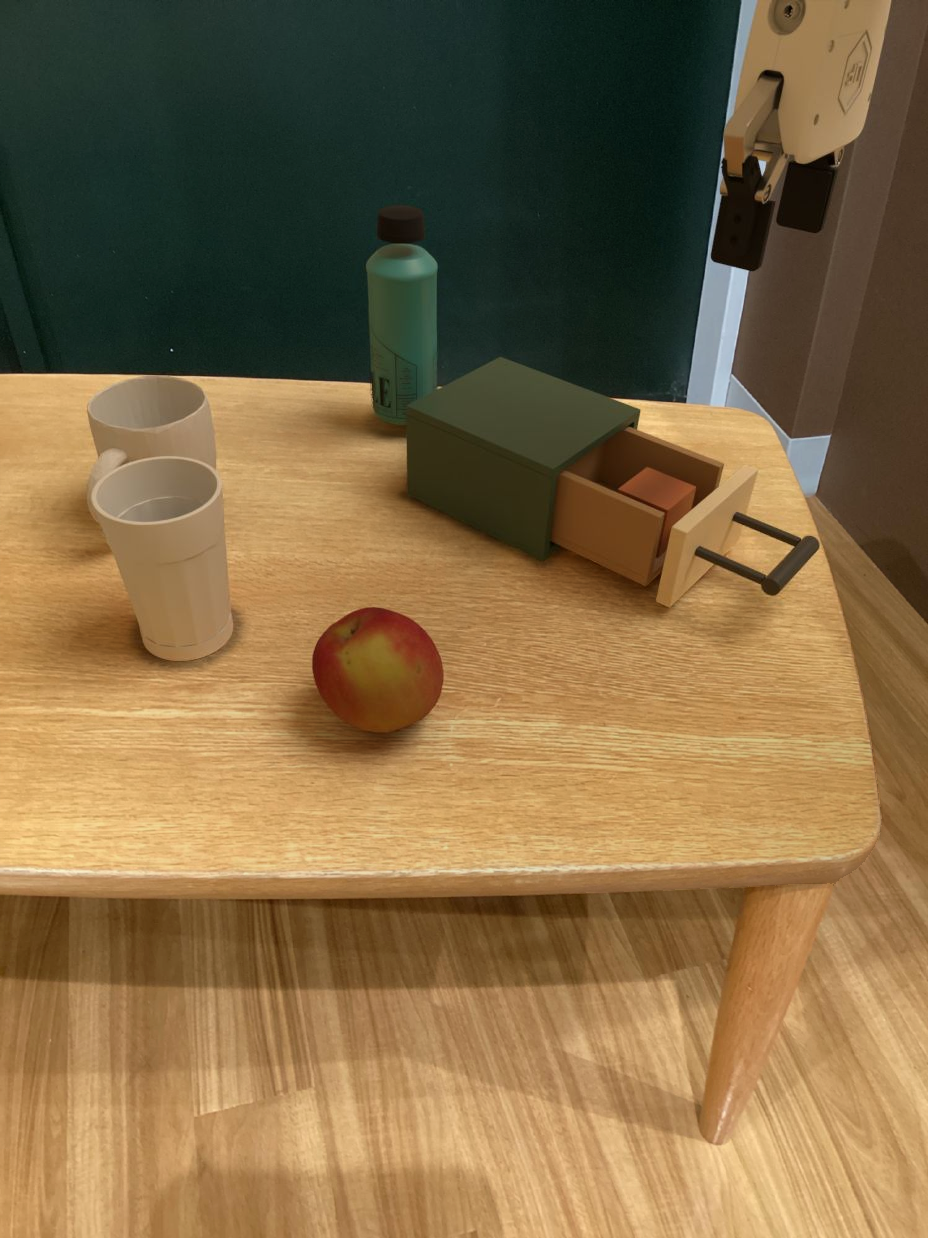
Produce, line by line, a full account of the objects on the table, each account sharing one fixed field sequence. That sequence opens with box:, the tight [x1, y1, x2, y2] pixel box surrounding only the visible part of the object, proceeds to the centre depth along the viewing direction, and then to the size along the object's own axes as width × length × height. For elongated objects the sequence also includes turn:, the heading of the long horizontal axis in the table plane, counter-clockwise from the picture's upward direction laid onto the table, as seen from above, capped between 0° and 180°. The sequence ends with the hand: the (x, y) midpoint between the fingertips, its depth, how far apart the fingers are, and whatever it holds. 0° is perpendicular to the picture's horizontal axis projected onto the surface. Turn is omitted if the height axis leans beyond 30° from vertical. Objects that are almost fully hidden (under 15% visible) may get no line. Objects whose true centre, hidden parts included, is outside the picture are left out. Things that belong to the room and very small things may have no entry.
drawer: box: [550, 426, 821, 608], centre depth 71 cm, size 20×11×7 cm, turn 51°
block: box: [617, 467, 696, 557], centre depth 72 cm, size 4×4×4 cm
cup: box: [91, 456, 234, 662], centre depth 62 cm, size 8×8×12 cm
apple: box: [311, 606, 445, 733], centre depth 58 cm, size 8×8×8 cm
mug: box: [85, 375, 217, 525], centre depth 73 cm, size 13×9×10 cm
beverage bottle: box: [365, 204, 440, 426], centre depth 84 cm, size 6×7×20 cm
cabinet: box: [405, 356, 642, 562], centre depth 78 cm, size 15×13×9 cm
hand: (768, 245), depth 60 cm, fingers open, 9 cm apart
